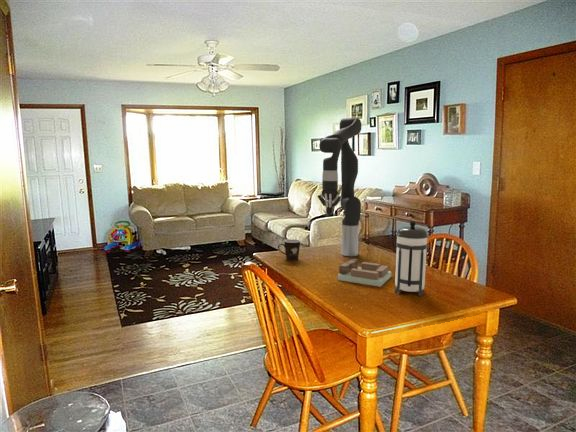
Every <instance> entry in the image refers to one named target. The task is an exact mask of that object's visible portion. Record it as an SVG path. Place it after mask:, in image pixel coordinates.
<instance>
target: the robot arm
mask: <svg viewBox="0 0 576 432" xmlns="http://www.w3.org/2000/svg"><path fill="white" fill-rule="evenodd" d="M362 127H363V126H362V121H361V119H360V118H358V117H345V118H344V117H343V118H341V119H340V121H339V129H338V130H336V131H334V132H333V133H332V134H331V135H327V136H324V137H323V138H322V139H320V141H319V145H318V147H319V150H320V151H321V152H322V153H325V154H331V156H330V157H326V158H325V157H324V159H323V160H322V177H321V178H322V179H321V180H322V182H321V183H322V184H321V185H322V191H321V193H320V194H318V195H317V199H318V200H319V201H320V203H321V205H322V206H323V207H326V208H325V209H326V211H325V213H326V215H328V216H332V214H333V211H334V207H336V206H338V204H339V203H340V207H341V209H342V210H343V211H344V218H342V219H341V246H340V247H341V248H340V249H341V253H340V254H341V256H344V257H356V256H358V254H359V227H360V226H359V223H360V220H361V215H362V213H361V212H362V204H361V200H360V199H359V198H358V197H357V196H355V184H356V180H357V177H358V174H359V159H358V157H357V154H356V153H355V151H354V150H353V149H352V147H351V145H350V141H349V140H350V139H351V138H353V137H355V136H358V135H360V133H361V132H362ZM339 157H340V173H341V174H340V175H341V179H340V180H341V192H340V194H341V195H340V194H339V191H338V188H339V185H338V184H339V173H338V168H339V167H338V163H339Z"/></svg>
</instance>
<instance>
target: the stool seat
mask: <svg viewBox="0 0 576 432" xmlns="http://www.w3.org/2000/svg"><path fill="white" fill-rule="evenodd" d="M391 277H392V271H391V270H389V265H385V264H383V265H381V264H380V263H376V262H375V263H373V262H367V261H363V262H361V265H360V266H358V267H357V268H353V269H351V271H350V272H348V273H346V274H342V273H337V281H343V282H348V283H349V282H350V283H355V284H361V285H366V286H373V287H383V285H384V284H385V283H386V282H387V281H388V280H390V278H391Z"/></svg>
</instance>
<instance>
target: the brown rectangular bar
mask: <svg viewBox="0 0 576 432" xmlns="http://www.w3.org/2000/svg"><path fill="white" fill-rule="evenodd" d="M357 267H359V259H358V258H351V259H350V260H348V261H346V262H344V263H342V264H340V265H339V269H338V274H340V273H342V274H346V273H348V272H350V271H351V269H353V268H357Z"/></svg>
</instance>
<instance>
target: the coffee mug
mask: <svg viewBox="0 0 576 432" xmlns="http://www.w3.org/2000/svg"><path fill="white" fill-rule="evenodd" d="M281 246H283V247H284V250H285V252H283V251H282V250H281V249H280V247H281ZM300 247H301V240H300V239H293V238H289V239H285V240H284V243H280V244H279V245H278V246H277V250H278V251H279V252H280V253H282V254H284V256H285V259H286V260H287V261H290V262H291V261H298V260H299V254H300Z"/></svg>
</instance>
